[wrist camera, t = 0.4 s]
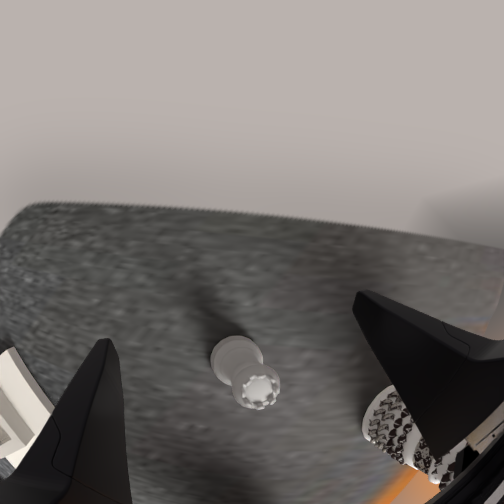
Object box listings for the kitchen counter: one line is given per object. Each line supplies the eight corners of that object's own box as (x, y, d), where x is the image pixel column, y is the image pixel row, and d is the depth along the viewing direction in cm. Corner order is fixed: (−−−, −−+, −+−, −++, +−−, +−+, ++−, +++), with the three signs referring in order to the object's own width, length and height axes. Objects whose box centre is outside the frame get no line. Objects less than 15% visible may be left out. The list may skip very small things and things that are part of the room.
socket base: (88, 446, 19) (79, 467, 15) (29, 472, 16) (18, 490, 12) (14, 346, 18) (-7, 355, 14) (-34, 388, 15) (-52, 398, 11)
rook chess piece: (199, 353, 23) (210, 387, 15) (241, 324, 24) (270, 345, 16) (228, 390, 23) (251, 433, 16) (268, 362, 25) (305, 393, 17)
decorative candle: (355, 401, 27) (549, 493, 2) (412, 367, 29) (587, 409, 5) (360, 456, 26) (505, 549, 2) (413, 421, 29) (555, 478, 5)
